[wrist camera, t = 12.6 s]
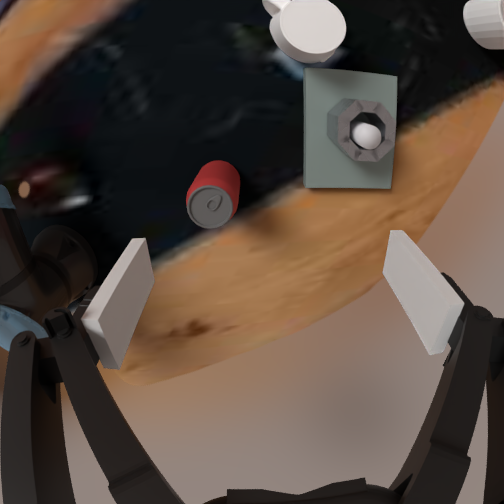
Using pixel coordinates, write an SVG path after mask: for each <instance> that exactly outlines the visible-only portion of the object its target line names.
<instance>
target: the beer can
mask: <svg viewBox="0 0 504 504" xmlns="http://www.w3.org/2000/svg"><path fill="white" fill-rule="evenodd" d="M239 190H240V176H239V174H238V171H237V170H236V169H235V168H234V166H233V165H231V164H229V163H228V162H225V161H220V160H219V161H212V162H210V163H207V164H206V165H205V166H204V167H202V168H201V170H200V172H199V173H198V175H197V177H196V178H195V180H194V182H193V183H192V185H191V187H190V189H189V190H188V192H187V197H186V204H187V210H188V214H189V216H190V218H191V219H192V220H193V221H194V222H195V224H197V225H199V226H201V227H203V228H207V229H214V228H218V227H221V226H223V225H224V224H226V223H227V222H228V221H229V220H230V219H231V218H232V217H233V215H234V214H235V212H236V210H237V206H238V200H239Z"/></svg>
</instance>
